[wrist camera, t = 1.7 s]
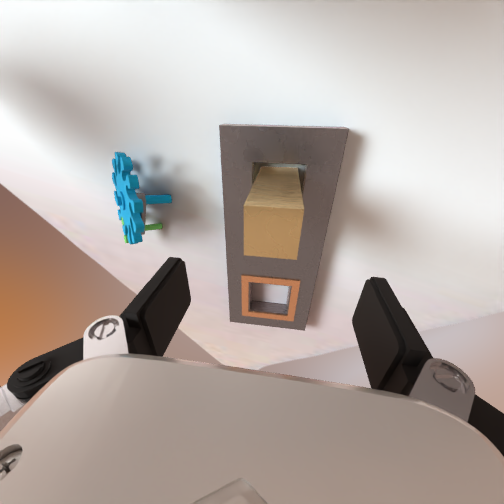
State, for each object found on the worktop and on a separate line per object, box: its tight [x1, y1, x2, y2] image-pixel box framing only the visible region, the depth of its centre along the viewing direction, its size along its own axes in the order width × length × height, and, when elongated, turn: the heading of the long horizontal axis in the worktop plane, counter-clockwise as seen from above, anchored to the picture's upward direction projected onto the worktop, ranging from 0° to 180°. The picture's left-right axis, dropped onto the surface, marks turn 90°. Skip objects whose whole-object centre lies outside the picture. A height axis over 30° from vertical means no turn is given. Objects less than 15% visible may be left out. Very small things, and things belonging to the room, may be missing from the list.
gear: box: [112, 152, 172, 244], centre depth 27 cm, size 11×6×10 cm
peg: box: [244, 166, 304, 260], centre depth 21 cm, size 4×4×12 cm
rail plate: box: [219, 124, 349, 330], centre depth 29 cm, size 28×12×2 cm, turn 179°
